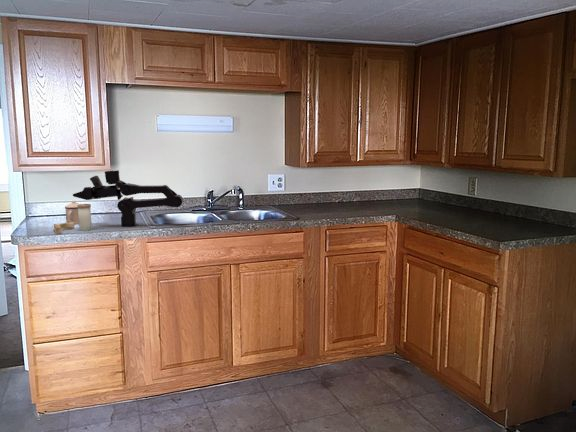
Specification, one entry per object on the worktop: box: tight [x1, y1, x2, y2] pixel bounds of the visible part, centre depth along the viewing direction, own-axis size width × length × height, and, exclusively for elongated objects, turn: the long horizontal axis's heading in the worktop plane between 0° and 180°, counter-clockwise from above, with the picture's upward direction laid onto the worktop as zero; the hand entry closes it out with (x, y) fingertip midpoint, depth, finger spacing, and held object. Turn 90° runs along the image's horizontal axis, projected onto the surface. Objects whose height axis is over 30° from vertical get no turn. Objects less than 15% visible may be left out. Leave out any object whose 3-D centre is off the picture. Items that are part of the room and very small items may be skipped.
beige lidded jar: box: [64, 200, 80, 225], centre depth 262 cm, size 12×9×12 cm
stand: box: [53, 222, 75, 235], centre depth 242 cm, size 9×12×3 cm
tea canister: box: [77, 203, 93, 232], centre depth 246 cm, size 6×6×12 cm
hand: (75, 194), depth 252 cm, fingers open, 9 cm apart
